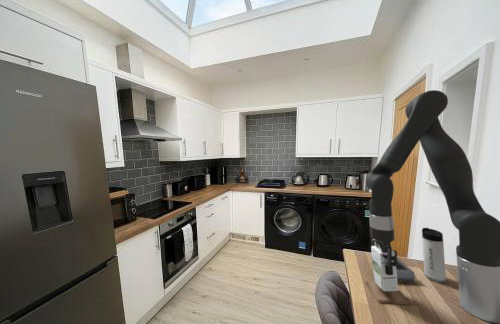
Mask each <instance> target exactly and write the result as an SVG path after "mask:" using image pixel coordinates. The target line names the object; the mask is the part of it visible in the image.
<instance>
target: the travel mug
mask: <svg viewBox="0 0 500 324" xmlns="http://www.w3.org/2000/svg"><path fill="white" fill-rule="evenodd" d="M421 235H422V236H421V238H422V239H421V240H422V241H421V242H422V256H423V268H424V270H423V271H424V276H425V278H427V279H429V280H431V281H433V282H436V283H446V282H447V276H446V275H447V274H446V261H445V248H444V235H443V232H441V231H440V230H437V229H433V228H428V227H423V228H422V229H421Z"/></svg>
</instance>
